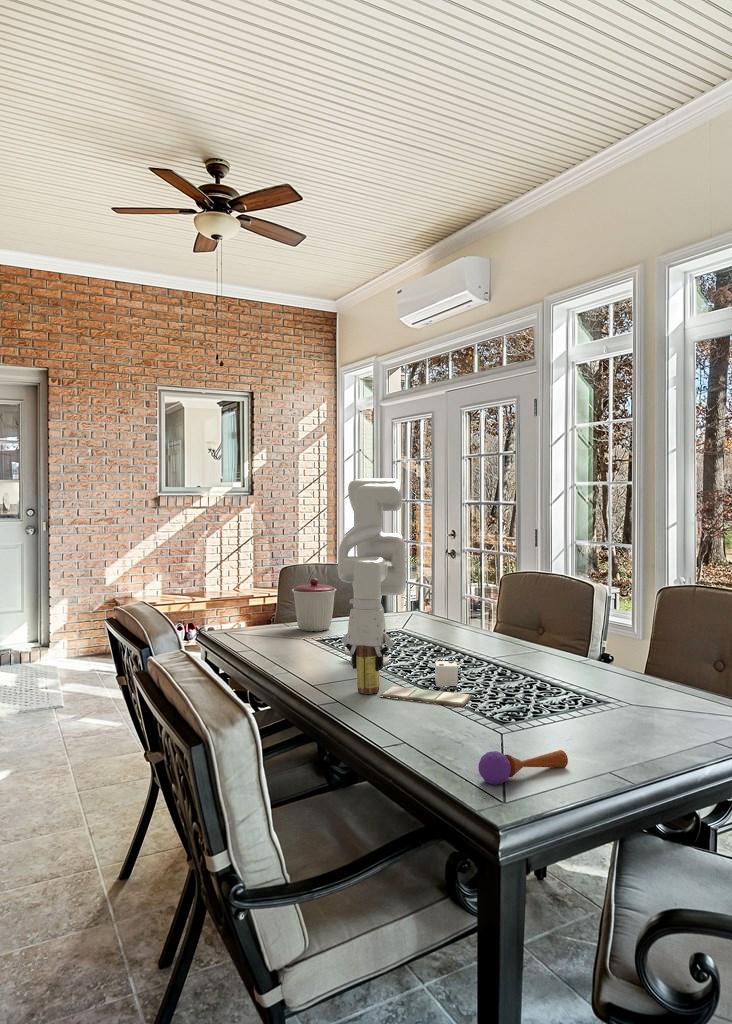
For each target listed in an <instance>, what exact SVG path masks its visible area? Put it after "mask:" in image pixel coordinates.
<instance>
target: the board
mask: <svg viewBox="0 0 732 1024" xmlns="http://www.w3.org/2000/svg"><path fill="white" fill-rule="evenodd" d="M380 696H383V697H390V698H398V699H405V700H404V701H407V700H413V701H412V702H416V701H421V702H420V703H424V702H429V703H428V704H433V703H436V704H435V705H442V704H445V705H444V706H450V705H453V707H459V706H461V708H464V707H463V706H464V705H467V703H468V702H469V701H470V700H471V699H472V696H473V695H472V694H469V693H458V692H449V691H439V690H432V689H430V690H429V689H421V688H414V687H413V688H412V687H402V686H393V685H391V686H390V687H388V688H387V689H386V690H385V691H383V692H382V693H381V694H379V697H380ZM390 698H389V699H390ZM398 699H397V700H398Z"/></svg>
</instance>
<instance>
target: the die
mask: <svg viewBox="0 0 732 1024" xmlns="http://www.w3.org/2000/svg"><path fill="white" fill-rule="evenodd" d="M434 664H435V666H434V668H435V669H434V671H435V673H434V674H435V675H434V676H435V677H434V681H435V687H436V686H447V687H446V688H449V687H448V686H456V687H455V688H458V687H459V685H458V684H459V681H458V680H459V678H458V677H459V676H458V674H459V667H458V663H457V661H456V660H455V661H451V660H450V661H449V660H448V661H447V660H445V661H443V660H438V661H437V660H436V661H435V662H434ZM457 686H458V687H457Z"/></svg>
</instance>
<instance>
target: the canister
mask: <svg viewBox="0 0 732 1024" xmlns="http://www.w3.org/2000/svg"><path fill="white" fill-rule="evenodd" d="M309 583H310V584H309ZM309 583H308V584H300V585H296V586H295V587H294V588H292V589H291V591H292V593H293V598H294V599H293V600H294V607H295V616H296V622H297V626H298V628H299V630H301V631H304V632H312V631H315V632H322V631H323V630H324V631H327V630H328V629H330V627H331V625H332V620H333V613H334V604H335V594H336V591H337V588H335V587H334V586H332V585H329V584H323V583H319V579H318V578H316V577H312V578H311V579H309Z"/></svg>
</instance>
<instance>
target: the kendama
mask: <svg viewBox="0 0 732 1024" xmlns="http://www.w3.org/2000/svg"><path fill="white" fill-rule="evenodd" d="M568 758H569V757H568V755H567V753H566V752H565V750H563V749H559V750H556V751H552V752H548V753H545V754H543V755H538V756H535V757H532V758H528V759H524V760H520V759H518V758H516V757H514V756H512V755H510V754H503V753H501V752H499V751H497V750H494V751H493V750H492V751H487V752H485V753H484V754H483V755H482V756H481V758H480V760H479V761H478V768H477V769H478V773H479V776H480V777H481V778H482V779H483V781H485V783H488V784H490V785H493V786H495V785H502V784H504V782H506V781H507V780H508V779H510V778H513V777H514V776H515V775H516V774H517V773H518V772H520V771H521V770H522V769H523V768H566V767H567V765H568V763H569V760H568Z"/></svg>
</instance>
